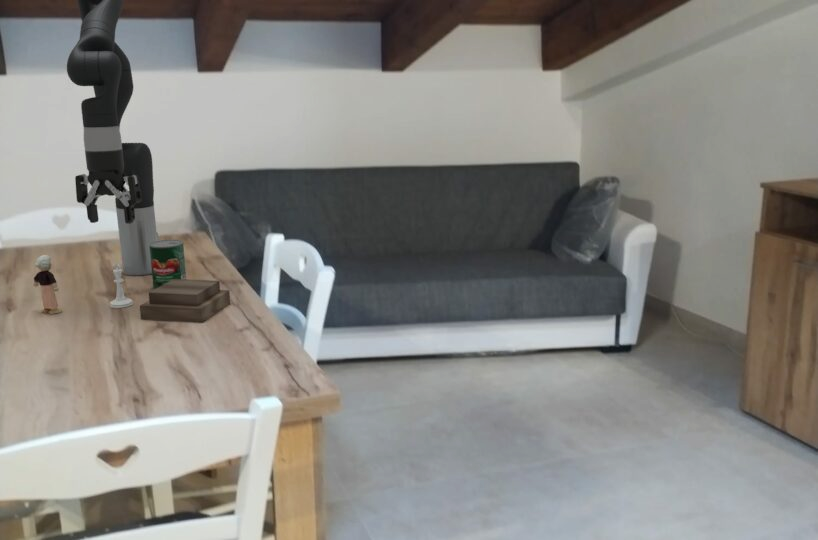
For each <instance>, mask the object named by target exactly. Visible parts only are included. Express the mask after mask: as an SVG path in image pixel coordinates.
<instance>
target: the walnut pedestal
mask: <svg viewBox="0 0 818 540" xmlns="http://www.w3.org/2000/svg"><path fill="white" fill-rule="evenodd" d="M220 284H221V283H220V280H211V279H209V280H207V279H187V278H186V279H173V280H171V281H169V282H167V283H165V284H163V285H162V286H160V287H158V288H156V289H152V290H151V291H148V299H149V300H147V301H145V302H143V303H141V304H139V313H140V320H147V321H148V320H149V321H152V320H153V321H167V322H169V321H170V322H183V323H184V322H188V323H203V322H205V321H206V320H208V319H209V318H211V317H212V316H214V315H215V314H217V313H218V312H220V311H221V310H223V309H224V308H225V307H227V306H228V305H229V304H231V295H230V289H221V285H220Z"/></svg>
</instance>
